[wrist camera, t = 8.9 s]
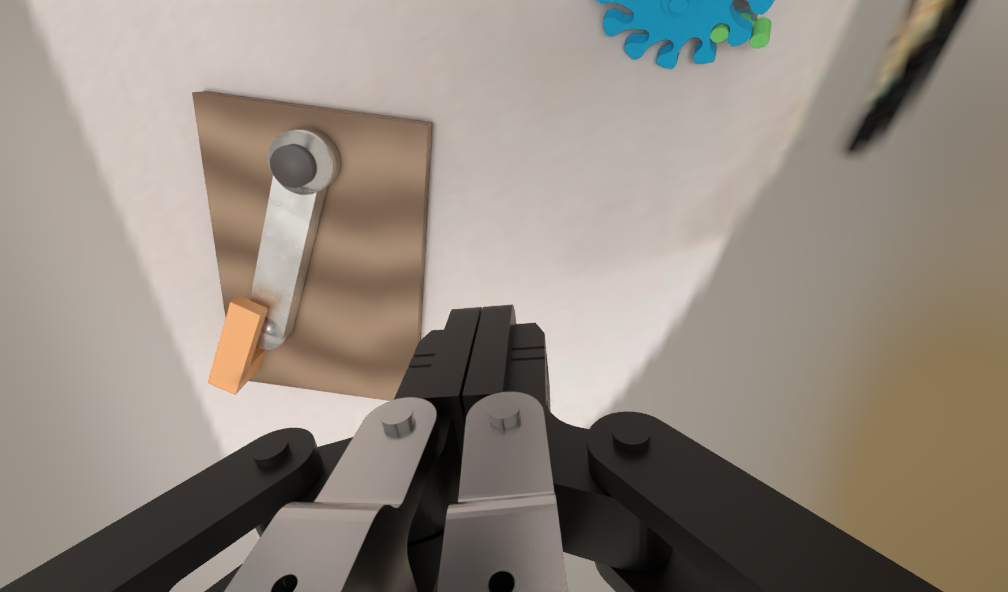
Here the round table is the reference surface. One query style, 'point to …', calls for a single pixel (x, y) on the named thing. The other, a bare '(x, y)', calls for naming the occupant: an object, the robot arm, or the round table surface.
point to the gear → (689, 25)
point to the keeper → (238, 346)
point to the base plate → (326, 236)
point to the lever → (290, 236)
